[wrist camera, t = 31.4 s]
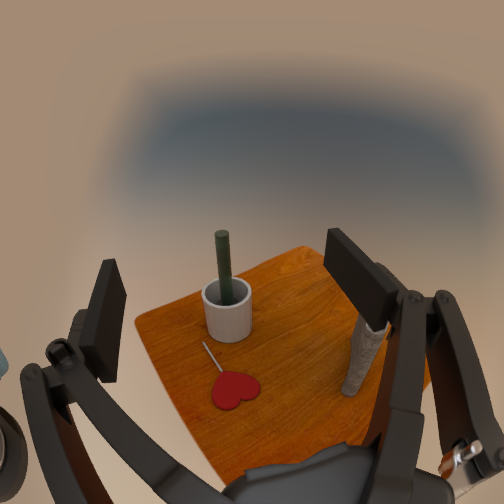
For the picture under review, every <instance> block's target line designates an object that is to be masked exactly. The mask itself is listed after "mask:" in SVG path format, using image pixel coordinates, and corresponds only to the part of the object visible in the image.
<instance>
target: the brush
mask: <svg viewBox="0 0 504 504" xmlns="http://www.w3.org/2000/svg"><path fill="white" fill-rule="evenodd" d="M215 244H216V253H217V264H218V274H219V283H220V293H221V299H220V300H218V301H217V303H216V304H215V305H219V306H231V305H235V304H237V303H239V300H237V299H235V298H233V287H232V273H231V259H230V244H229V232H228V231H226V230H219V231H216V232H215Z"/></svg>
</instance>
